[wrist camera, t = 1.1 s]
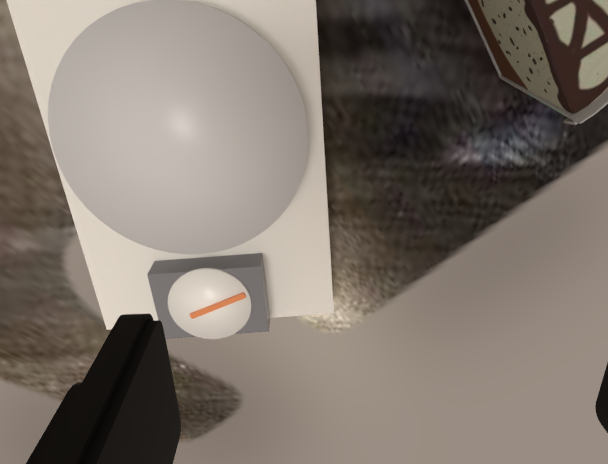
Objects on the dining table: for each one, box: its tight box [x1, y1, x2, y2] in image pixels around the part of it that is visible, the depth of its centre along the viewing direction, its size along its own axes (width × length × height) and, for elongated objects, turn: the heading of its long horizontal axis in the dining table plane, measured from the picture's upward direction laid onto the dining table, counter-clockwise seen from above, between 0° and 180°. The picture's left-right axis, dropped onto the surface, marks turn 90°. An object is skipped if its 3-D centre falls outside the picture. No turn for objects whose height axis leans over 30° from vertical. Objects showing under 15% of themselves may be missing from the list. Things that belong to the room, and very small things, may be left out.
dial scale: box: [7, 0, 334, 339], centre depth 34 cm, size 24×18×5 cm
